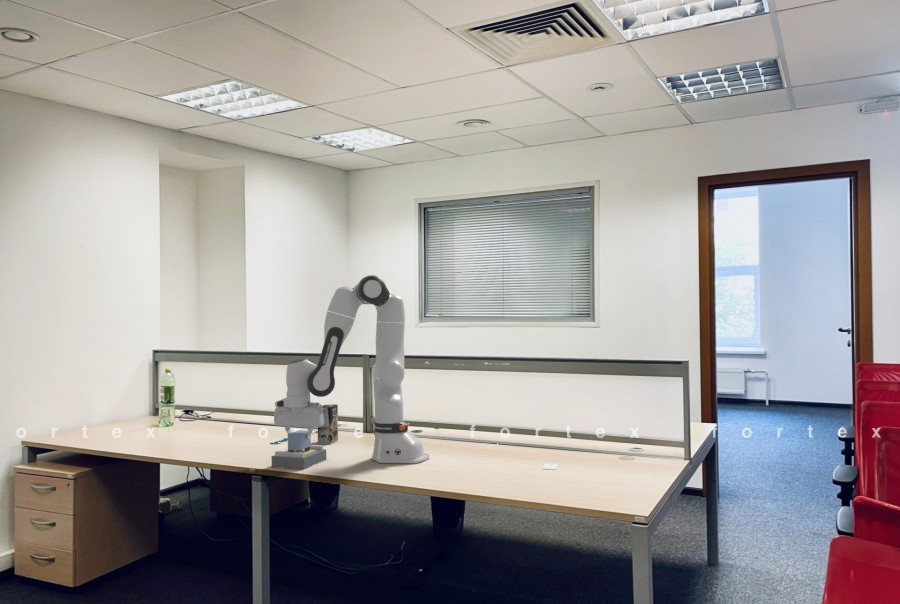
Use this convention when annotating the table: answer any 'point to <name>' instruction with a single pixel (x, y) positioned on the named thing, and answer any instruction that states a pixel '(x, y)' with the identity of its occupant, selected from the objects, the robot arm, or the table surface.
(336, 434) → the coffee box
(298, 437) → the cart
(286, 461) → the dock
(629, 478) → the table surface
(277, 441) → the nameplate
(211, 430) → the table surface
